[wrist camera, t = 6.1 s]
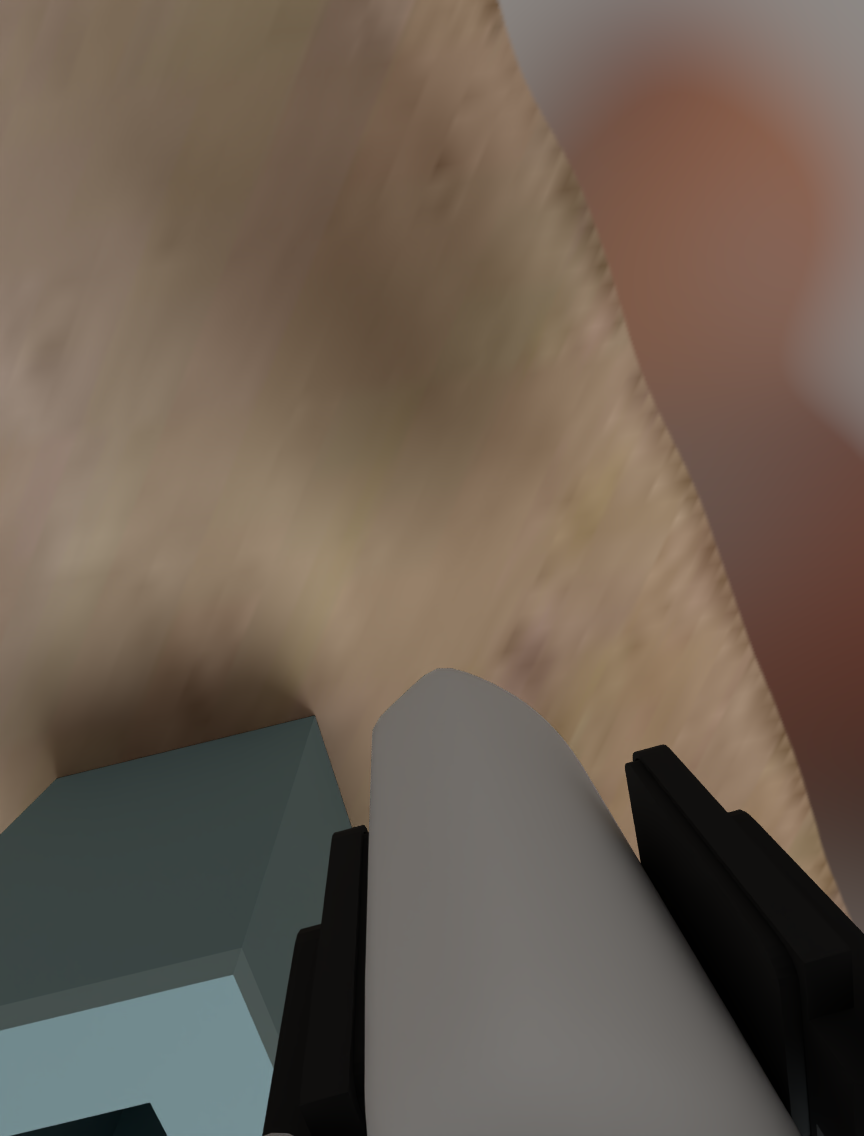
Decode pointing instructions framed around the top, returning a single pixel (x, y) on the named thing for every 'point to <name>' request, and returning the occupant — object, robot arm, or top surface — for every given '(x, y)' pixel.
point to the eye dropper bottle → (528, 946)
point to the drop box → (160, 935)
